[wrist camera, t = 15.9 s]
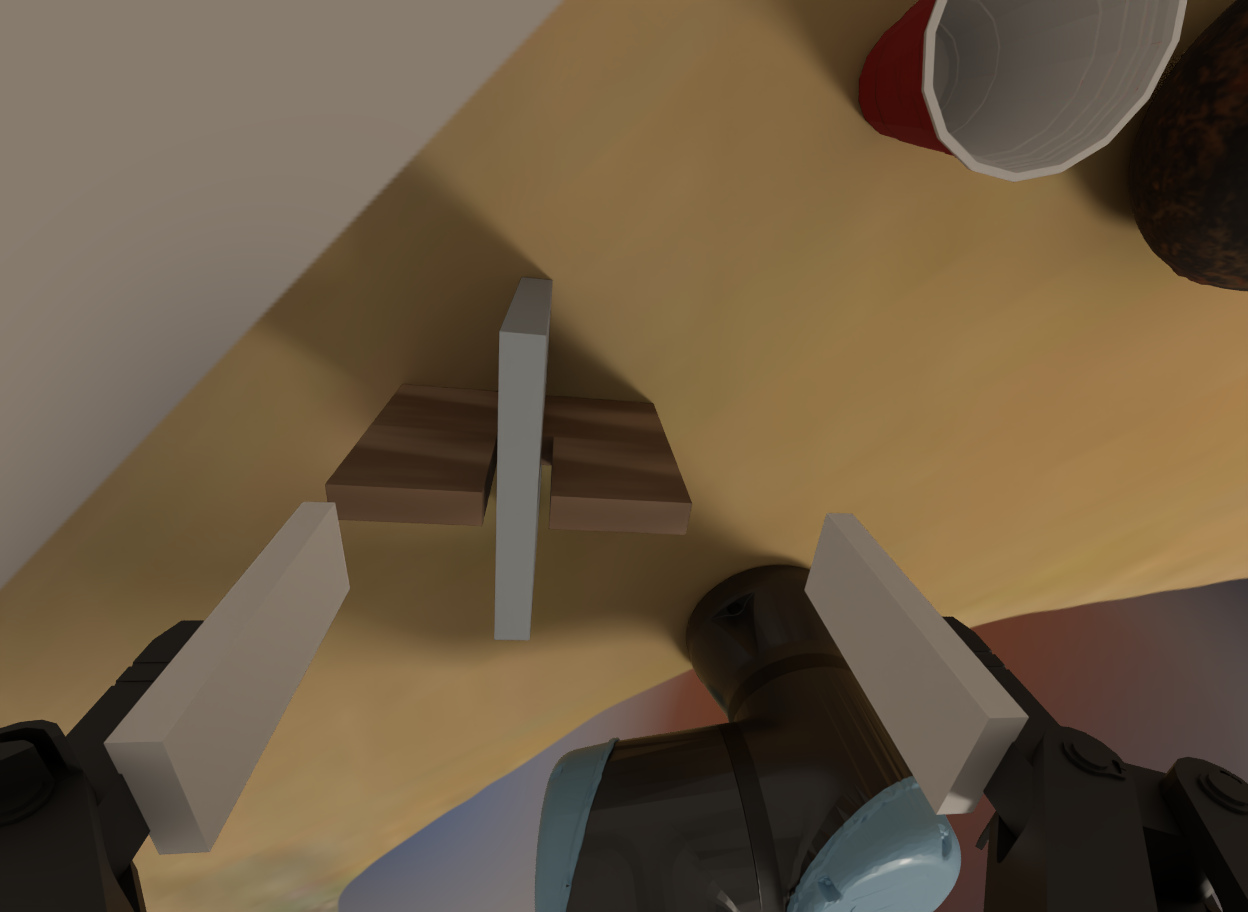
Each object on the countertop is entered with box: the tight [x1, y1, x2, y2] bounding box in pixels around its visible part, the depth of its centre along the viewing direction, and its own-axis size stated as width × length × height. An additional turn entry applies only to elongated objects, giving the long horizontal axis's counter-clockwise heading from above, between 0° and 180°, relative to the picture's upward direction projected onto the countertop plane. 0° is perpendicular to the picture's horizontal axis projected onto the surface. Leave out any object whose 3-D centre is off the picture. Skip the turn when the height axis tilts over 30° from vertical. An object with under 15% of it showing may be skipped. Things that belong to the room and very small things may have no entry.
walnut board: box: [325, 384, 692, 535], centre depth 34 cm, size 2×18×14 cm, turn 83°
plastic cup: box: [859, 0, 1187, 182], centre depth 27 cm, size 11×11×12 cm
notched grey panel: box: [494, 277, 552, 640], centre depth 34 cm, size 18×2×14 cm, turn 173°
